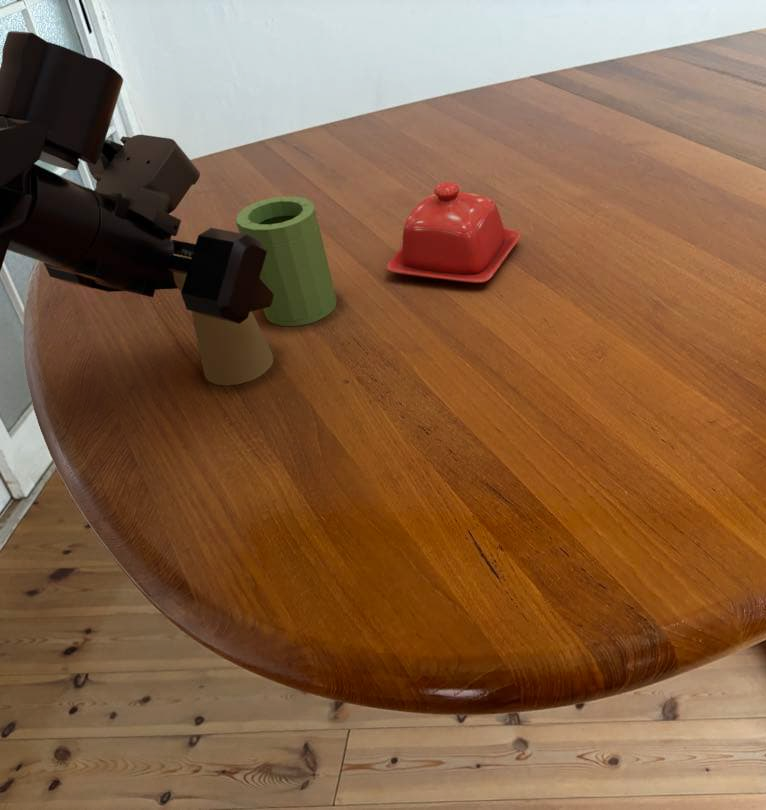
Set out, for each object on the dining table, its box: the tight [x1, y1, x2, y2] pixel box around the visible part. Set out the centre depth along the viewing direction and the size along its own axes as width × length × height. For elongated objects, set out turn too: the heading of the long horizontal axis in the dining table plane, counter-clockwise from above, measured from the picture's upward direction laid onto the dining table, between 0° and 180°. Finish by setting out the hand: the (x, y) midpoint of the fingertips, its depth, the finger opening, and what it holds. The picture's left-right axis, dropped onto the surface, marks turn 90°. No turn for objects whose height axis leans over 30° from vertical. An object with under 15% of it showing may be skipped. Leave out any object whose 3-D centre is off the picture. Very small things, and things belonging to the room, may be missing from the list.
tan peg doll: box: [173, 255, 275, 387], centre depth 69 cm, size 6×6×11 cm
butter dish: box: [385, 181, 522, 284], centre depth 83 cm, size 12×12×8 cm
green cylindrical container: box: [235, 196, 338, 327], centre depth 77 cm, size 7×7×10 cm
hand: (228, 290), depth 70 cm, fingers open, 9 cm apart
